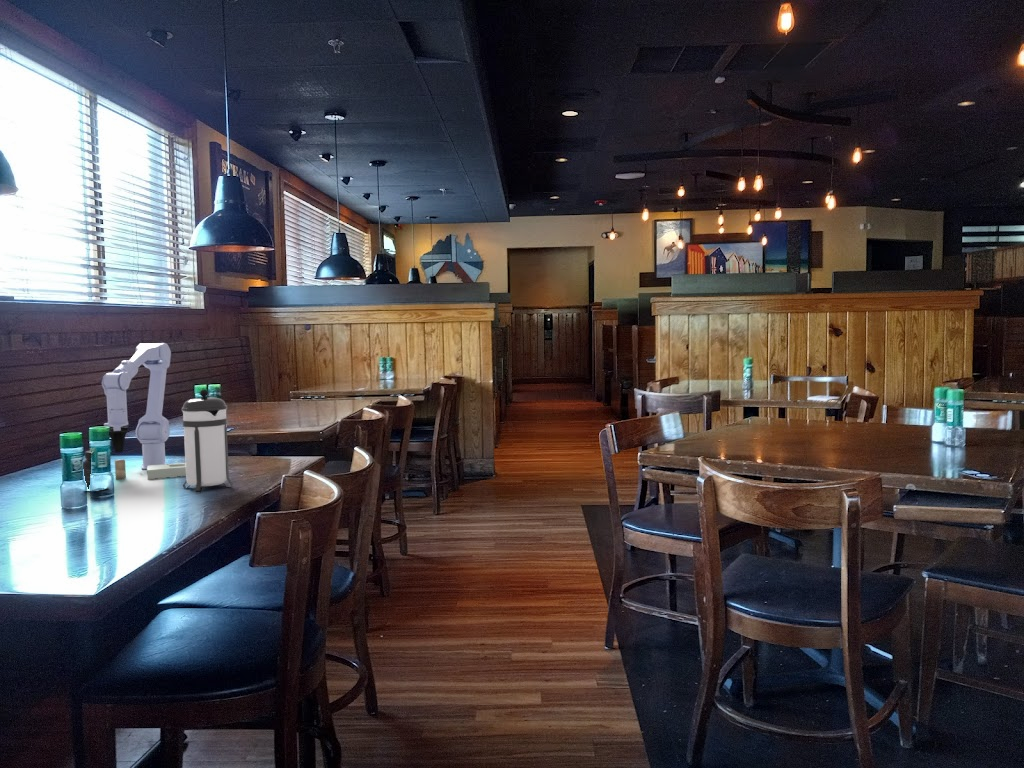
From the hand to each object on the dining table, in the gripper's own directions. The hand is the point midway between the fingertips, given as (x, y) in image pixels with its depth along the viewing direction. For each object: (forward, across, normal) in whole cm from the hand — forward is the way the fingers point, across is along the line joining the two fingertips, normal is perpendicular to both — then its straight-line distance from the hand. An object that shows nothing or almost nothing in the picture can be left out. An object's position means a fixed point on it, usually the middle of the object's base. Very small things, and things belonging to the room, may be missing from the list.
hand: (119, 450), depth 247 cm
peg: (+9, 0, 0) cm, 9 cm away
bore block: (+9, +2, +17) cm, 19 cm away
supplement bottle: (+9, +18, -6) cm, 21 cm away
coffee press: (+9, +31, +24) cm, 40 cm away
